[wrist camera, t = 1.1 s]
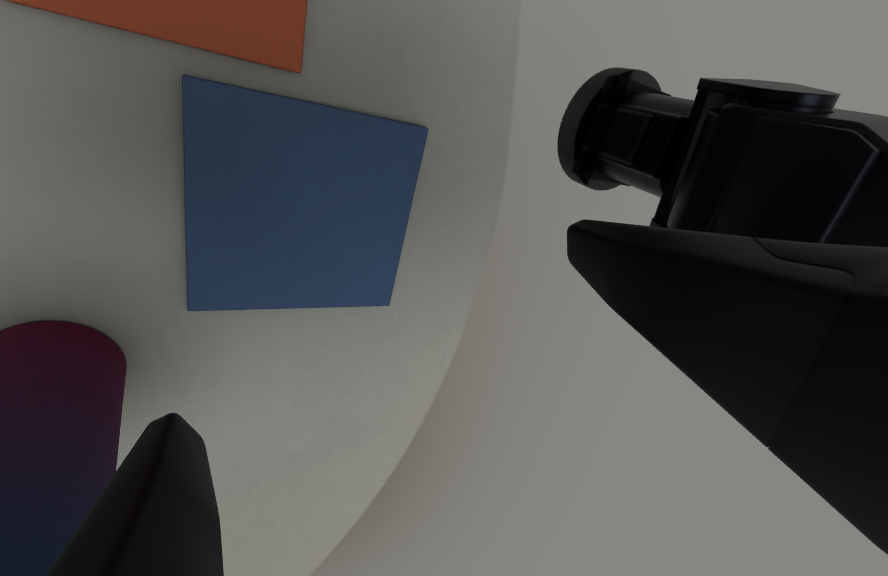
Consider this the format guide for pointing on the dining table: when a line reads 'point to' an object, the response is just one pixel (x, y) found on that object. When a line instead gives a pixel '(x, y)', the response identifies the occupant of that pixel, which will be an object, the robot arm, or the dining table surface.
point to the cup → (54, 436)
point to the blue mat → (292, 200)
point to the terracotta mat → (204, 24)
